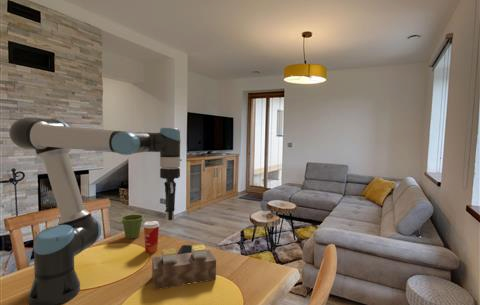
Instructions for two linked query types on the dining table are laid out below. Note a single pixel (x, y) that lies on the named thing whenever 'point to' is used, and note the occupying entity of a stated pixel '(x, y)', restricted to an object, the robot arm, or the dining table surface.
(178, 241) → the dining table surface
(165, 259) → the peg left
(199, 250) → the peg right
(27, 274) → the dining table surface
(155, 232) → the paper cup
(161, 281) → the walnut block
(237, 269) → the dining table surface
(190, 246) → the phone
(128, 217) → the plant pot
